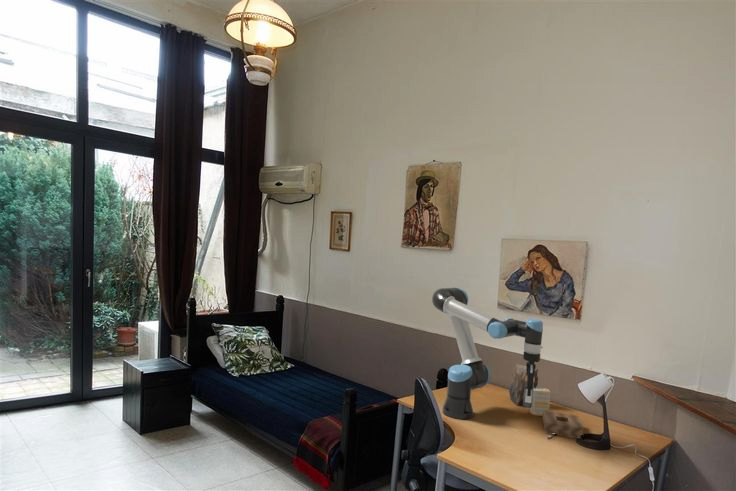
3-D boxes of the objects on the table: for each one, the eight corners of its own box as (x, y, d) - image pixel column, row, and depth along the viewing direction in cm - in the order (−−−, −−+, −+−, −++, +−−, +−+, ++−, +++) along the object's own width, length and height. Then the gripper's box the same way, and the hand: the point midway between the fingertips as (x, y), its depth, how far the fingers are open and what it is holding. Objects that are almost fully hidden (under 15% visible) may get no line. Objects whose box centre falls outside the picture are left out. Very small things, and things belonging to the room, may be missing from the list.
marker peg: (522, 406, 215) (525, 377, 214) (522, 403, 219) (525, 375, 218) (532, 408, 213) (534, 379, 213) (531, 405, 217) (534, 376, 217)
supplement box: (546, 413, 237) (547, 388, 237) (549, 417, 232) (550, 391, 232) (529, 411, 238) (531, 387, 237) (532, 415, 233) (534, 390, 233)
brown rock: (507, 397, 258) (509, 362, 257) (529, 398, 259) (531, 363, 258) (516, 406, 245) (519, 369, 245) (539, 406, 246) (541, 370, 246)
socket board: (545, 433, 212) (545, 422, 211) (542, 420, 227) (543, 410, 227) (582, 439, 207) (583, 428, 207) (577, 426, 222) (578, 416, 222)
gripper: (541, 357, 206) (537, 408, 207) (539, 349, 222) (535, 396, 223) (524, 355, 208) (520, 405, 209) (523, 346, 224) (519, 393, 225)
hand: (527, 400), depth 216 cm, fingers closed on marker peg, 4 cm apart
